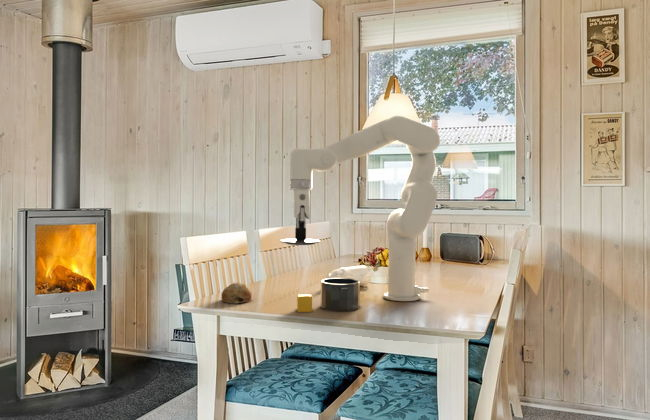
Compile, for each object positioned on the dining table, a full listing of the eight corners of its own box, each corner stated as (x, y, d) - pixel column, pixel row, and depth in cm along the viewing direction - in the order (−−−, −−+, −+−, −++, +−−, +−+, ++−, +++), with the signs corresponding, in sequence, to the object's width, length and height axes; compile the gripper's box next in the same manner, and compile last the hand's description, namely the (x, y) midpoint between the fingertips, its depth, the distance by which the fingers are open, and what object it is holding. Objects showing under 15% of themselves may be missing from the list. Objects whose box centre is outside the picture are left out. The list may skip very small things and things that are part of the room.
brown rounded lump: (224, 314, 174) (227, 294, 171) (216, 296, 182) (219, 277, 179) (252, 311, 178) (256, 292, 175) (244, 294, 186) (247, 275, 183)
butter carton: (310, 309, 167) (310, 294, 167) (312, 311, 163) (312, 296, 163) (297, 309, 166) (297, 294, 166) (298, 312, 163) (298, 296, 163)
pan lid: (317, 241, 185) (317, 226, 185) (322, 245, 171) (322, 228, 171) (279, 241, 183) (279, 225, 183) (281, 245, 170) (281, 228, 169)
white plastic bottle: (320, 288, 203) (320, 268, 203) (358, 283, 214) (358, 264, 214) (332, 291, 197) (332, 270, 197) (371, 286, 208) (371, 266, 207)
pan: (353, 300, 180) (353, 276, 180) (364, 312, 162) (364, 285, 162) (318, 301, 178) (318, 276, 178) (324, 313, 161) (324, 286, 161)
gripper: (315, 185, 169) (314, 242, 170) (309, 185, 185) (308, 237, 186) (292, 184, 168) (291, 242, 169) (288, 185, 184) (287, 237, 185)
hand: (300, 239), depth 177 cm, fingers closed on pan lid, 2 cm apart
